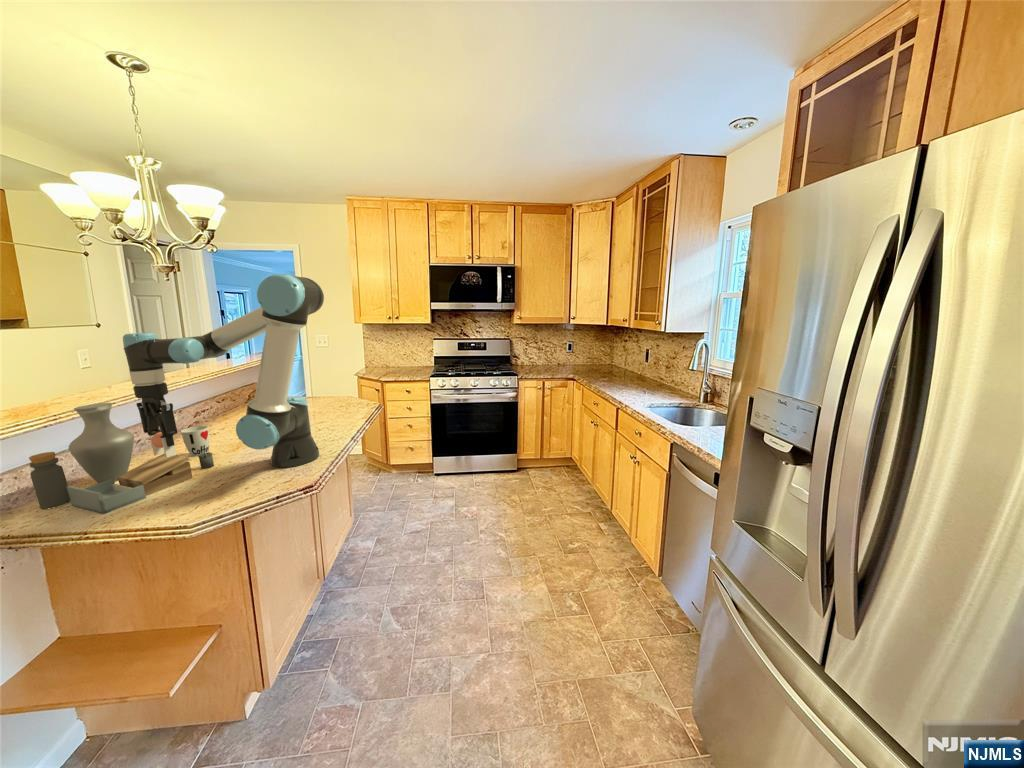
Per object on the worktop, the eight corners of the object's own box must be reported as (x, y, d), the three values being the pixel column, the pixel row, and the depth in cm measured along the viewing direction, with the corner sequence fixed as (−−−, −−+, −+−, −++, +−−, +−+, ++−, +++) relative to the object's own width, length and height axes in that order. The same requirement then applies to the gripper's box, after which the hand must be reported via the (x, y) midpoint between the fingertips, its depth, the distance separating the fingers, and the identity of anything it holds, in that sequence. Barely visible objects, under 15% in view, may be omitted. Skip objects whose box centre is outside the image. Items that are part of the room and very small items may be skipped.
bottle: (71, 503, 109) (57, 454, 106) (39, 511, 105) (24, 460, 102) (71, 497, 113) (58, 449, 110) (41, 505, 109) (26, 455, 106)
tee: (216, 465, 134) (214, 452, 133) (205, 469, 130) (203, 456, 129) (209, 464, 135) (207, 451, 134) (198, 468, 131) (195, 455, 131)
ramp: (193, 477, 124) (189, 456, 123) (144, 496, 112) (139, 473, 111) (169, 473, 128) (165, 453, 126) (120, 491, 116) (114, 468, 115)
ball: (178, 445, 123) (174, 430, 122) (159, 450, 118) (156, 435, 117) (168, 443, 124) (164, 429, 123) (149, 449, 120) (146, 433, 119)
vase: (148, 475, 127) (131, 402, 122) (85, 493, 115) (63, 414, 110) (134, 467, 134) (118, 398, 130) (74, 483, 123) (53, 408, 118)
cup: (189, 459, 140) (184, 433, 138) (183, 455, 145) (178, 429, 143) (216, 452, 146) (211, 427, 144) (209, 448, 151) (204, 424, 149)
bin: (146, 497, 111) (141, 478, 110) (103, 514, 102) (97, 493, 101) (115, 491, 116) (110, 472, 115) (72, 506, 107) (66, 486, 106)
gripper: (182, 382, 117) (197, 453, 122) (146, 380, 123) (161, 448, 128) (153, 387, 111) (170, 462, 115) (116, 384, 116) (133, 456, 121)
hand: (165, 454), depth 122 cm, fingers closed on ball, 5 cm apart
